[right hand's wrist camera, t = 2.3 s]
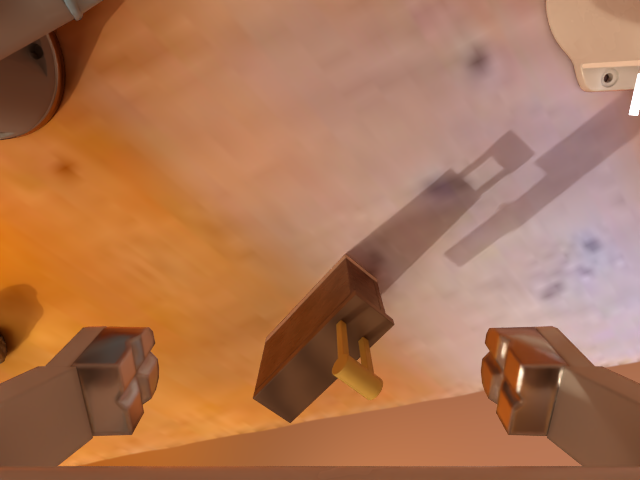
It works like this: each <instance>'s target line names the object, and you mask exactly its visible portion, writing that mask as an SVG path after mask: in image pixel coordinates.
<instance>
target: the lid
mask: <svg viewBox="0 0 640 480" xmlns="http://www.w3.org/2000/svg"><path fill="white" fill-rule="evenodd" d="M393 325H394V322H393V319H392V318H390V317H389V316H388V315H387V314H385V313H384V312H383V311H382V310H380V309H379V308H378V307H376V306H375V305H374V304H373V303H371V302H370V301H369V300H368V299H366V298H365V297H364V296H362V295H361V294H360V293H359V292H357V291H356V290H354V291H353V292H352V293H351V295H350V296H349V297H348V298H347V299H346V300H345V301H344V302H343V303H342V304H341V305H340V306H339V307H338V308H337V309H336V310H335V311H334V312H333V313H332V314H331V315H330V316H329V317H328V318H327V319H326V320H325V321H324V322H323V323H322V324H321V325H320V326H319V327H318V328H317V329H316V330H315V331H314V332H313V333H312V334H311V335H310V336H309V337H308V338H307V339H306V340H305V341H304V342H303V343H302V344H301V345H300V346H299V347H298V348H297V349H296V350H295V351H294V352H293V353H292V354H291V355H290V356H289V357H288V358H287V359H286V360H285V361H284V363H283V364H282V365H281V366H280V367H279V368H278V369H277V370H276V371H275V372H274V373H273V374H272V375H271V376H270V377H269V378H268V379H267V380H266V381H265V382H264V383H263V384H262V385H261V386H260V387H259V388H258V389H257V390H256V391H255V392H254V396H253V399H254V400H256V401H258V402H259V403H261V404H262V405H264V406H265V407H267V408H268V409H270V410H271V411H273V412H274V413H276V414H277V415H279V416H280V417H282V418H283V419H285V420H286V421H288V422H289V423H291V422H292V421H293V420H294V419H295V418H296V417H297V416H298V415H299V414H300V413H301V412H303V411H304V410H305V409H306V408H307V407H308V406H309V405H310V404H311V403H312V402H313V401H314V400H315V399H316V398H317V397H318V396H319V395H321V394H322V393H323V392H324V391H325V390H326V389H327V388H328V387H329V386H330V385H331V384H332V383H333V382H334V381H335V380H336V379H337V378H338V379H340V380H341V381H343V382H344V383H345V384H347V385H348V386H350V387H351V388H352V389H354V390H355V391H357V392H358V393H359V394H361V395H362V396H364V397H365V398H366V399H368V400H373V399H375V398H376V397H377V396H378V395H379V393H380V392H381V390H382V387H383V381H382V379H381V378H379V377H378V376H377V375H375V374H374V370H373V365H372V359H371V353H370V347H371V346H372V345H373V344H374V343H375V342H377V341H378V340H379V339H380V338H381V337H382V336H383V335H384V334H385V333H386V332H387V331H388V330H389V329H390V328H391V327H392V326H393ZM360 357H361V364H360V363H359V362H357V361H356V360H358V359H359V358H360Z"/></svg>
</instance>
